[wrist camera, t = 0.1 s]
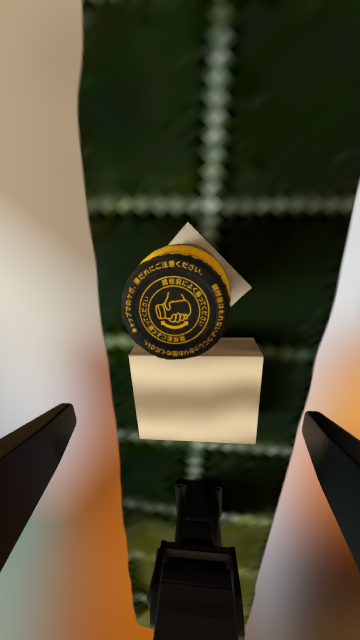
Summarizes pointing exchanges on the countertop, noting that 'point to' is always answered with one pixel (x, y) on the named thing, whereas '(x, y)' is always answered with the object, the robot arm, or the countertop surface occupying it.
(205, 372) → the wooden block
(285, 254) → the countertop surface
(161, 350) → the condiment
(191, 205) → the countertop surface
